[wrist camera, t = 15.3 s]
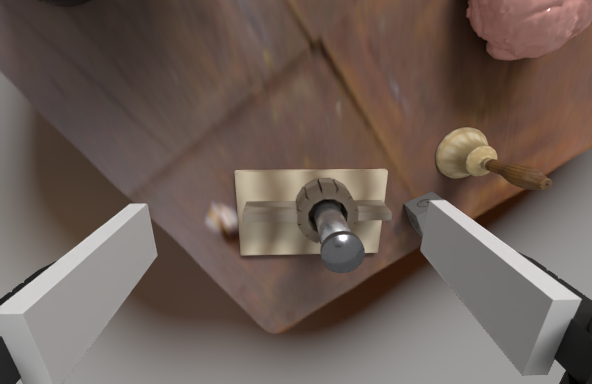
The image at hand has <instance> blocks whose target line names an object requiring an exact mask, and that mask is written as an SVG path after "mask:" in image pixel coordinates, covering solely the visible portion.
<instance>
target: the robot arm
mask: <svg viewBox="0 0 592 384" xmlns="http://www.w3.org/2000/svg"><path fill="white" fill-rule="evenodd" d="M40 1H43V2H46V3H49V4H53V5H59V6H73V5H78V4H82V3H84V2H87V1H88V0H40ZM420 250H421V252H422V253H423V254H424V256H425V257H426V258H427V259H428V261H429V262H430V263H431V264H432V265H433V267H434V268H435V269H436V270H437V272H438V273H439V274H440V275H441V277H442V278H443V279H444V280H445V281H446V283H447V284H448V285H449V286H450V288H451V289H452V290H453V291H454V292H455V294H456V295H457V296H458V297H459V299H460V300H461V301H462V302H463V303H464V305H465V306H466V307H467V308H468V310H469V311H470V312H471V313H472V315H473V316H474V317H475V318H476V319H477V321H478V322H479V323H480V324H481V326H482V327H483V328H484V329H485V330H486V332H487V333H488V334H489V335H490V337H491V338H492V339H493V340H494V341H495V343H496V344H497V345H498V346H499V348H500V349H501V350H502V351H503V353H504V354H505V355H506V356H507V358H508V359H509V360H510V361H511V362H512V364H513V365H514V366H515V367H516V369H517V370H518V371H519V372H520V373H521V375H522V376H524V375H548V373H549V371H550V368H551V366H552V364H553V361H554V360H555V359H556V360H557V361H558V362H559V363H560V364H561V366H562V367H563V368H564V369H565V370H566V371H565V373H564V375H563V377H562V379H561V381H560V383H559V384H592V300H590V299H589V298H587V297H586V296H585V295H583V294H582V293H580V292H579V291H578V290H576V289H575V288H573V287H572V286H570V285H569V284H568V283H566V282H565V281H563V280H562V279H558V277H557V276H556V275H555V274H553V273H552V272H550V271H547V269H546V268H545V267H544V266H542V265H541V264H539V263H538V262H536V261H535V260H533V259H532V258H529V257H527V256H525V255H523V254H521V253H519V252H516V251H515V250H513V249H512V248H511V247H509V246H508V245H506V244H505V243H504V242H502V241H501V240H500V239H498V238H497V237H495V236H494V235H493V234H491V233H490V232H489V231H487V230H486V229H484V228H483V227H482V226H480V225H479V224H477V223H476V222H475V221H473V220H472V219H471V218H469V217H468V216H466V215H465V214H464V213H462V212H461V211H460V210H458V209H457V208H455V207H454V206H453V205H451V204H450V203H449V202H447V201H446V200H430V201H429V206H428V211H427V217H426V222H425V228H424V233H423V238H422V244H421V249H420ZM156 257H157V251H156V245H155V240H154V235H153V230H152V225H151V220H150V215H149V210H148V205H147V204H129V205H128V206H127V207H126V208H124V209H123V210H122V211H120V212H119V213H118V214H117V215H115V216H114V217H113V218H112V219H110V220H109V221H108V222H106V223H105V224H104V225H103V226H101V227H100V228H99V229H98V230H96V231H95V232H94V233H92V234H91V235H90V236H89V237H87V238H86V239H85V240H84V241H82V242H81V243H80V244H79V245H77V246H76V247H75V248H73V249H72V250H71V251H70V252H68V253H67V254H66V255H64V256H63V257H62V258H61V259H59V260H58V261H55V262H53V263H52V264H50V265H48V266H46V267H44V268H42V269H40V270H38V271H37V272H35V273H34V274H33V275H31V276H30V277H29V278H27V279H26V280H25V281H24V283H21V284H19V285H18V286H17V287H16V288H14V289H13V290H12V292H9V293H8V294H6V295H5V296H4V297H3V298H1V299H0V384H16V383H17V381H18V380H19V379H21V381H22V382H23V384H64V382H65V381H66V379H67V378H68V377H69V375H70V374H71V372H72V371H73V370H74V368H75V367H76V366H77V365H78V363H79V362H80V360H81V359H82V358H83V356H84V355H85V354H86V352H87V351H88V349H89V348H90V347H91V345H92V344H93V343H94V341H95V340H96V339H97V337H98V336H99V334H100V333H101V332H102V330H103V329H104V328H105V326H106V325H107V324H108V322H109V321H110V319H111V318H112V317H113V315H114V314H115V313H116V311H117V310H118V308H119V307H120V306H121V304H122V303H123V302H124V300H125V299H126V298H127V296H128V295H129V294H130V292H131V291H132V289H133V288H134V287H135V285H136V284H137V283H138V281H139V280H140V279H141V277H142V276H143V274H144V273H145V272H146V270H147V269H148V268H149V266H150V265H151V264H152V262H153V261H154V259H155V258H156Z"/></svg>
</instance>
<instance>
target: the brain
mask: <svg viewBox="0 0 592 384" xmlns="http://www.w3.org/2000/svg"><path fill="white" fill-rule="evenodd" d="M467 3H468V5H469V8H467V15H466V17H467V18H469V21H470V24H471V26H472V28H473V30H474V31H475V32H476V33H477V35H478V37H481V38H482V39H484V40H486V41H487V44H486V50H487V52H488V53H489V55H491V56H492V57H493V58H494V59H498V60H506V61H511V60H519V59H523V58H533V59H535V58H538V57H542V56H544V55H546V54H548V53H551V52H554V51H556V50H557V49H559V48H560V47H561V46H563V45H564V43H565V42H567V40H570V39H572V38H574V37H575V36H577V35H578V34H580V33H581V32H582V31H583V30H584V29H586V28H587V27H588V26H589V25H590V23H591V22H592V0H469V1H468V2H467Z"/></svg>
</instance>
